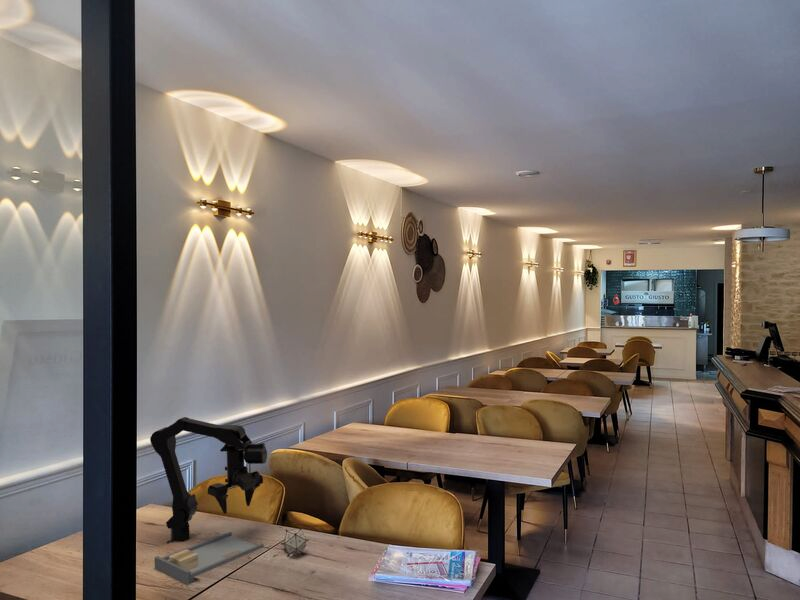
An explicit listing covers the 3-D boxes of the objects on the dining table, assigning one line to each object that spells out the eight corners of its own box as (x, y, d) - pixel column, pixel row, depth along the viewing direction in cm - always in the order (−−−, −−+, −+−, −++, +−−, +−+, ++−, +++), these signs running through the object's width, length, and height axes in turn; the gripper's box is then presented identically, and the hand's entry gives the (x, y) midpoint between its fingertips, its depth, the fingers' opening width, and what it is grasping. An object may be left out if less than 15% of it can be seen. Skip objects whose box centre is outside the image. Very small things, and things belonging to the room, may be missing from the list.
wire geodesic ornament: (298, 567, 188) (301, 550, 182) (274, 556, 190) (276, 539, 184) (311, 544, 195) (314, 527, 190) (288, 534, 197) (290, 516, 191)
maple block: (169, 567, 179) (168, 556, 179) (187, 560, 183) (186, 549, 183) (180, 573, 175) (180, 561, 175) (198, 565, 180) (197, 553, 180)
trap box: (154, 568, 182) (154, 557, 182) (230, 539, 203) (229, 528, 203) (187, 584, 171) (187, 572, 171) (263, 551, 192) (263, 540, 192)
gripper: (225, 474, 188) (226, 523, 188) (272, 461, 203) (273, 506, 203) (206, 468, 195) (207, 515, 195) (252, 456, 210) (253, 500, 210)
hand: (236, 509), depth 201 cm, fingers open, 9 cm apart
